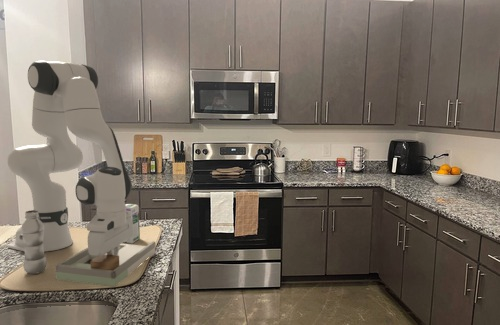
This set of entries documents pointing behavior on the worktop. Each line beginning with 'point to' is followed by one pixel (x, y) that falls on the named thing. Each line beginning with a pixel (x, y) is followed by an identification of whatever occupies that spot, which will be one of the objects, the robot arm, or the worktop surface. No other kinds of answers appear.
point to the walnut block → (105, 262)
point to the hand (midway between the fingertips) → (113, 259)
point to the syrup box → (134, 221)
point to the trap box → (81, 270)
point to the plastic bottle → (33, 243)
